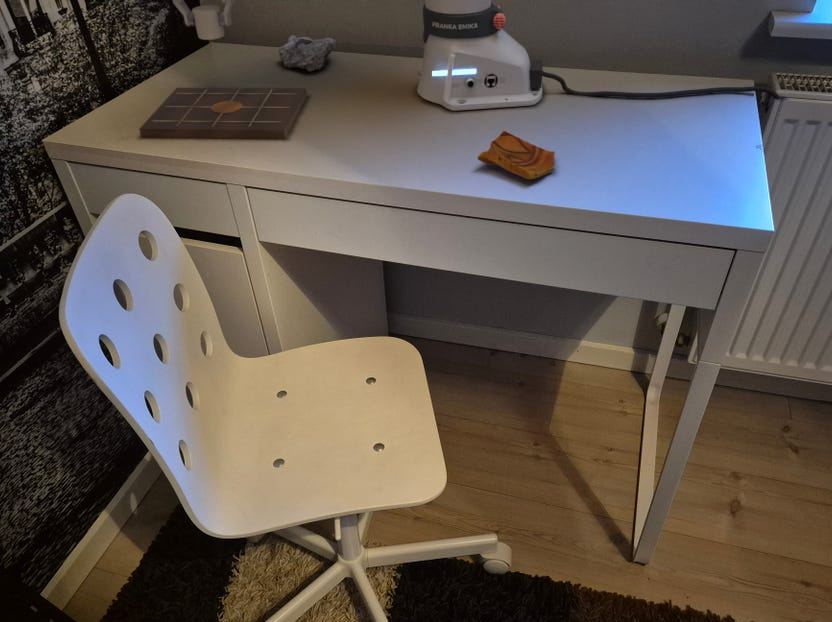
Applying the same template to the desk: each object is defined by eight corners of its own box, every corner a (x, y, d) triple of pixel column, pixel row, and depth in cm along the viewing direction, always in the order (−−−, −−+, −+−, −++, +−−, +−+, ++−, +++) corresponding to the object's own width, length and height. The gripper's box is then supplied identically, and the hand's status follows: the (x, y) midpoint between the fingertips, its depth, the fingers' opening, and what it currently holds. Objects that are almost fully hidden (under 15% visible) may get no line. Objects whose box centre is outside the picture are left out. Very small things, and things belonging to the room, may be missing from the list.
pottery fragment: (499, 128, 101) (562, 129, 97) (502, 156, 104) (564, 159, 100) (470, 156, 95) (537, 159, 90) (475, 186, 98) (539, 190, 93)
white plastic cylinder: (227, 31, 109) (222, 4, 106) (220, 40, 105) (214, 12, 103) (202, 31, 109) (197, 4, 106) (194, 39, 106) (188, 12, 103)
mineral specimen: (317, 79, 128) (266, 66, 132) (347, 64, 136) (298, 51, 139) (316, 47, 124) (264, 34, 128) (347, 33, 132) (297, 21, 135)
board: (307, 96, 121) (305, 87, 120) (285, 139, 108) (283, 129, 107) (178, 95, 123) (176, 86, 122) (141, 137, 109) (138, 128, 108)
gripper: (262, -82, 98) (277, 19, 108) (128, -81, 100) (155, 19, 109) (251, -74, 94) (268, 31, 103) (111, -73, 95) (140, 31, 104)
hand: (209, 25), depth 106 cm, fingers closed on white plastic cylinder, 4 cm apart
